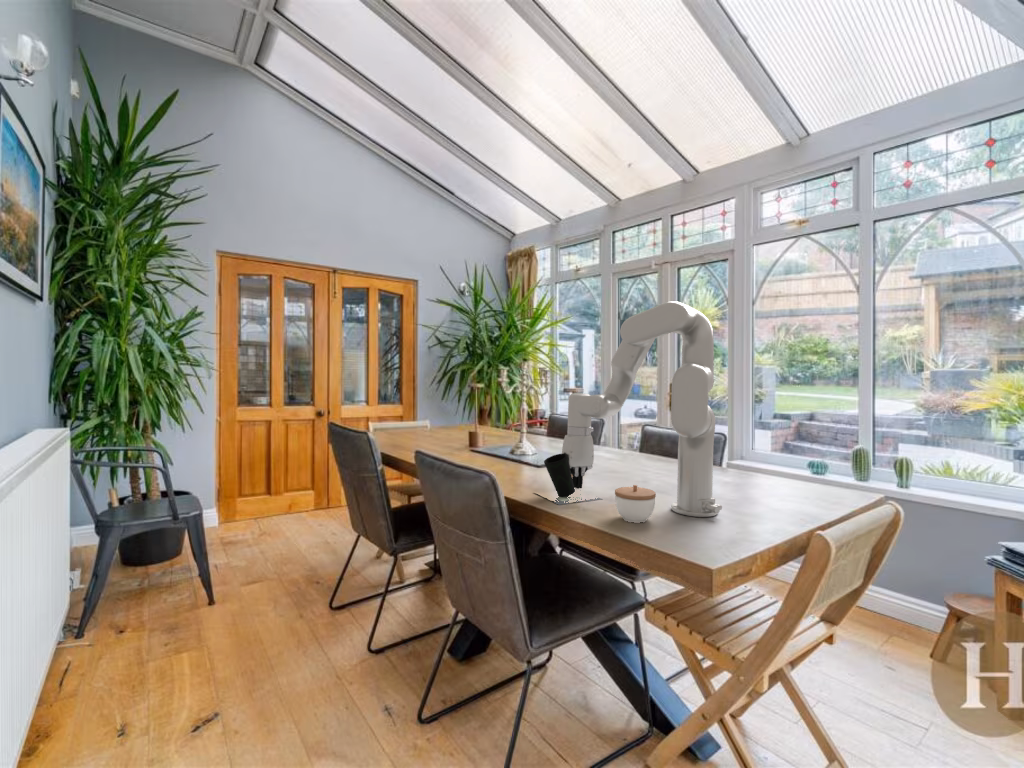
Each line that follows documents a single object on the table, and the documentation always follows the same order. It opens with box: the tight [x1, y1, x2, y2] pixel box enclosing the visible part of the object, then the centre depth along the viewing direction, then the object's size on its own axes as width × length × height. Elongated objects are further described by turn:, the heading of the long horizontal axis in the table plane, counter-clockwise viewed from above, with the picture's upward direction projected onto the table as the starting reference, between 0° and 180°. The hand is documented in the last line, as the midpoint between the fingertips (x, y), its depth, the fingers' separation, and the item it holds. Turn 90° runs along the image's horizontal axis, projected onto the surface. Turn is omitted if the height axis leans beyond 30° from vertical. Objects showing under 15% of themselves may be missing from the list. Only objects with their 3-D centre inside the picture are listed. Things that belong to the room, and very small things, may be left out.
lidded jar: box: [614, 484, 657, 524], centre depth 136 cm, size 11×11×9 cm
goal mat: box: [553, 494, 602, 506], centre depth 160 cm, size 16×16×1 cm
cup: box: [543, 453, 576, 497], centre depth 160 cm, size 8×8×12 cm
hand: (577, 487), depth 163 cm, fingers closed
